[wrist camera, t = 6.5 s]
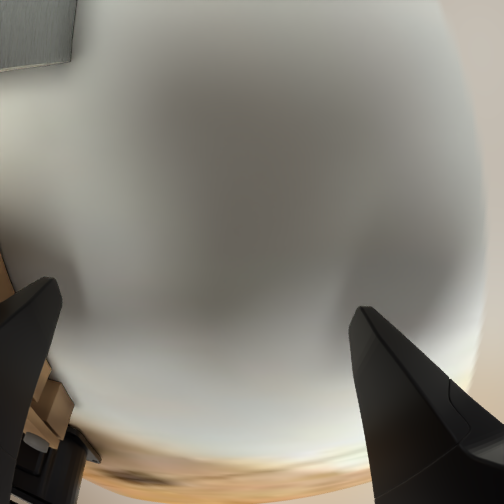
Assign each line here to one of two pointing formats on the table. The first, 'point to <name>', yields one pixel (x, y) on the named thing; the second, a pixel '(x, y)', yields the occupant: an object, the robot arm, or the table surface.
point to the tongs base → (54, 408)
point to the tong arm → (34, 426)
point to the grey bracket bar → (35, 32)
